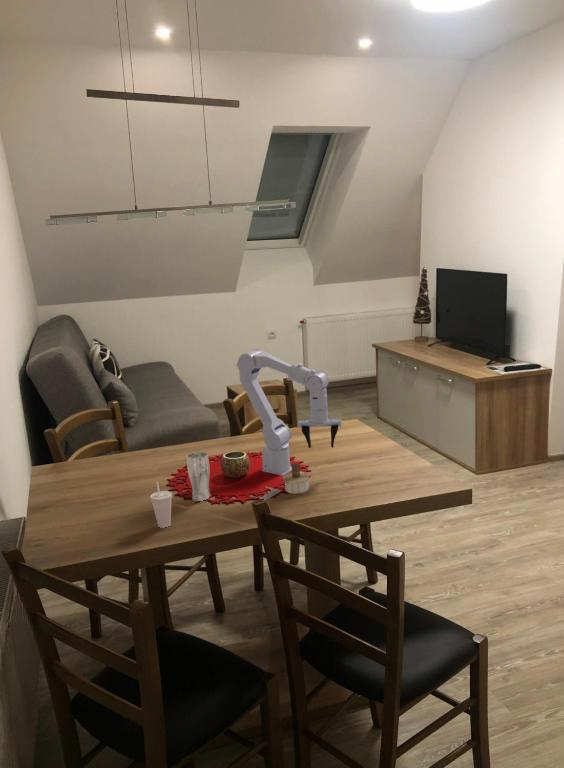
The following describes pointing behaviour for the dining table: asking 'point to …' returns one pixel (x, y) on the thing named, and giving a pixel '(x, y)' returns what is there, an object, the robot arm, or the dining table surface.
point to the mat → (270, 493)
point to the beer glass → (199, 475)
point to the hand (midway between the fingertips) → (321, 446)
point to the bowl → (296, 487)
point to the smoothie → (162, 507)
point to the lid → (296, 475)
